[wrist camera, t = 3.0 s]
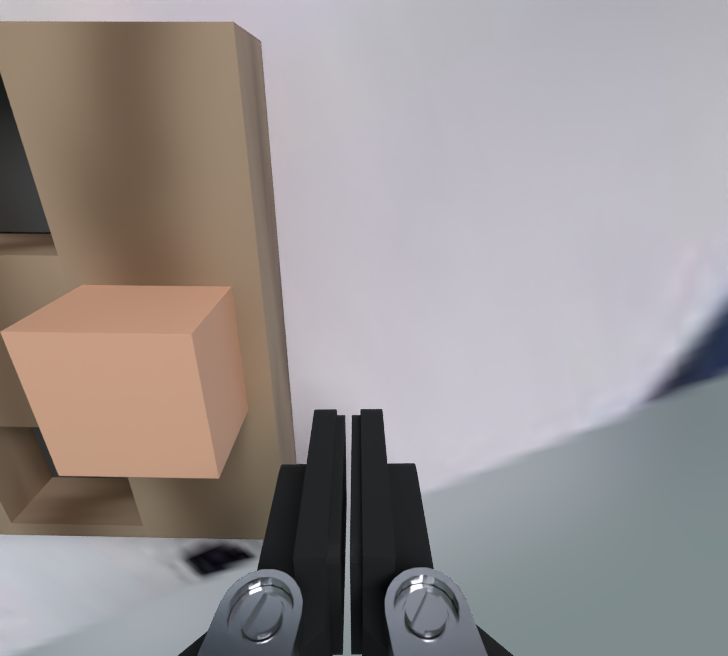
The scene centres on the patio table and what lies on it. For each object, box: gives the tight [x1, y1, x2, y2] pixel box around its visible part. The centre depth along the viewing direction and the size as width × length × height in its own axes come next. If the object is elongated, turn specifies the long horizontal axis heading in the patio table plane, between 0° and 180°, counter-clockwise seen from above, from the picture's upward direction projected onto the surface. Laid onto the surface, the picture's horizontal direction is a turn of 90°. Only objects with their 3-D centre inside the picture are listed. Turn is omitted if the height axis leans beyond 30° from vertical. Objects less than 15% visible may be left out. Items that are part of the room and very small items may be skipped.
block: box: [1, 285, 248, 479], centre depth 14 cm, size 5×5×4 cm
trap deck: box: [0, 22, 296, 539], centre depth 17 cm, size 19×20×3 cm
